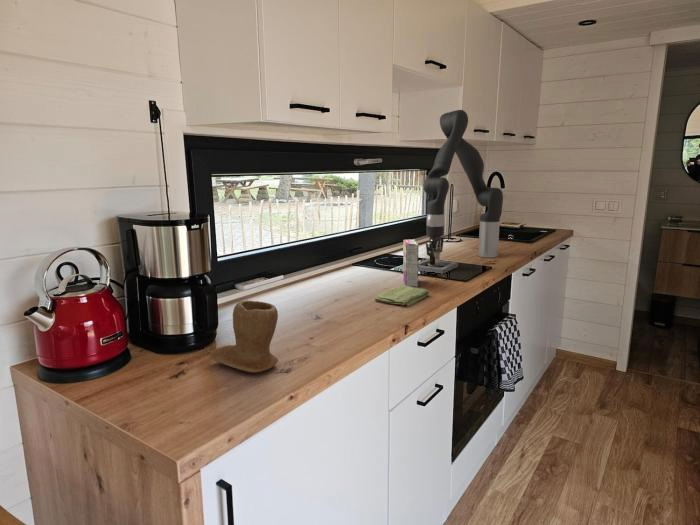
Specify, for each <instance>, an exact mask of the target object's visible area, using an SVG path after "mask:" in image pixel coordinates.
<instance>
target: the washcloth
mask: <svg viewBox="0 0 700 525" xmlns="http://www.w3.org/2000/svg"><path fill="white" fill-rule="evenodd" d="M429 293H430V291H429V290H428V289H426V288H419V287H409V286H406V285H404V284H398V285H396V286H395V287H392V288H390V289H388V290H386V291H383V292H381V293H379V294H378V295H376V297H375V298H374V301H376V302H379V303H384V304H390V305H391V304H392V305H399V306H403V305H404V307H407V306H408V307H411V306H412V305H414V304H417V303H418V302H419V301H421V300H424V299H425V298H427V297H429ZM426 296H427V297H426ZM423 298H424V299H423Z"/></svg>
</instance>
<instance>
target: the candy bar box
mask: <svg viewBox="0 0 700 525" xmlns="http://www.w3.org/2000/svg"><path fill="white" fill-rule="evenodd" d="M402 251H403V253H402V254H403V256H402V257H403V259H402V260H403V267H402V268H403V270H402V272H403V281H404V284H405V286H409V287H413V288H419V271H418V263H419V243H418V241H417V240H416V239H414V238H413V239H410V238H409V239H403V250H402Z"/></svg>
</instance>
